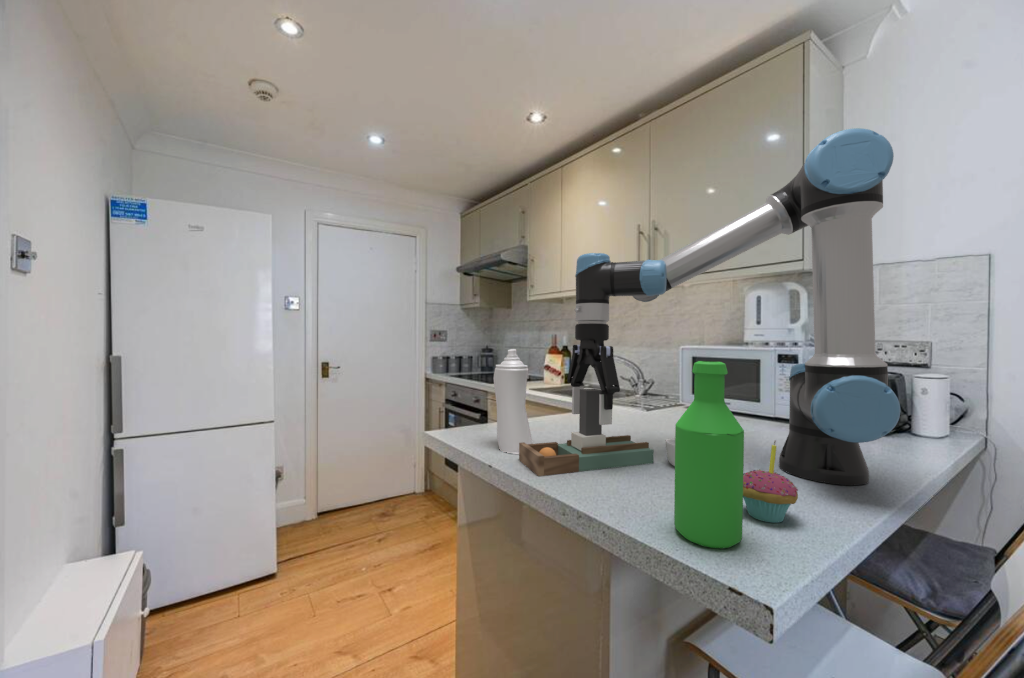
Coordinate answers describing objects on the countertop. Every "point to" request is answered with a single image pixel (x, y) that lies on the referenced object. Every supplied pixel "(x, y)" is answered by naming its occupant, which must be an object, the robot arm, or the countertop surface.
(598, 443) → the block
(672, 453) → the teacup
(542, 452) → the ball
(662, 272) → the robot arm
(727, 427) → the bottle
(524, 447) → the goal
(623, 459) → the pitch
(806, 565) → the countertop surface
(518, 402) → the spray can
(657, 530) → the countertop surface
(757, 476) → the cupcake
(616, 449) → the rails
